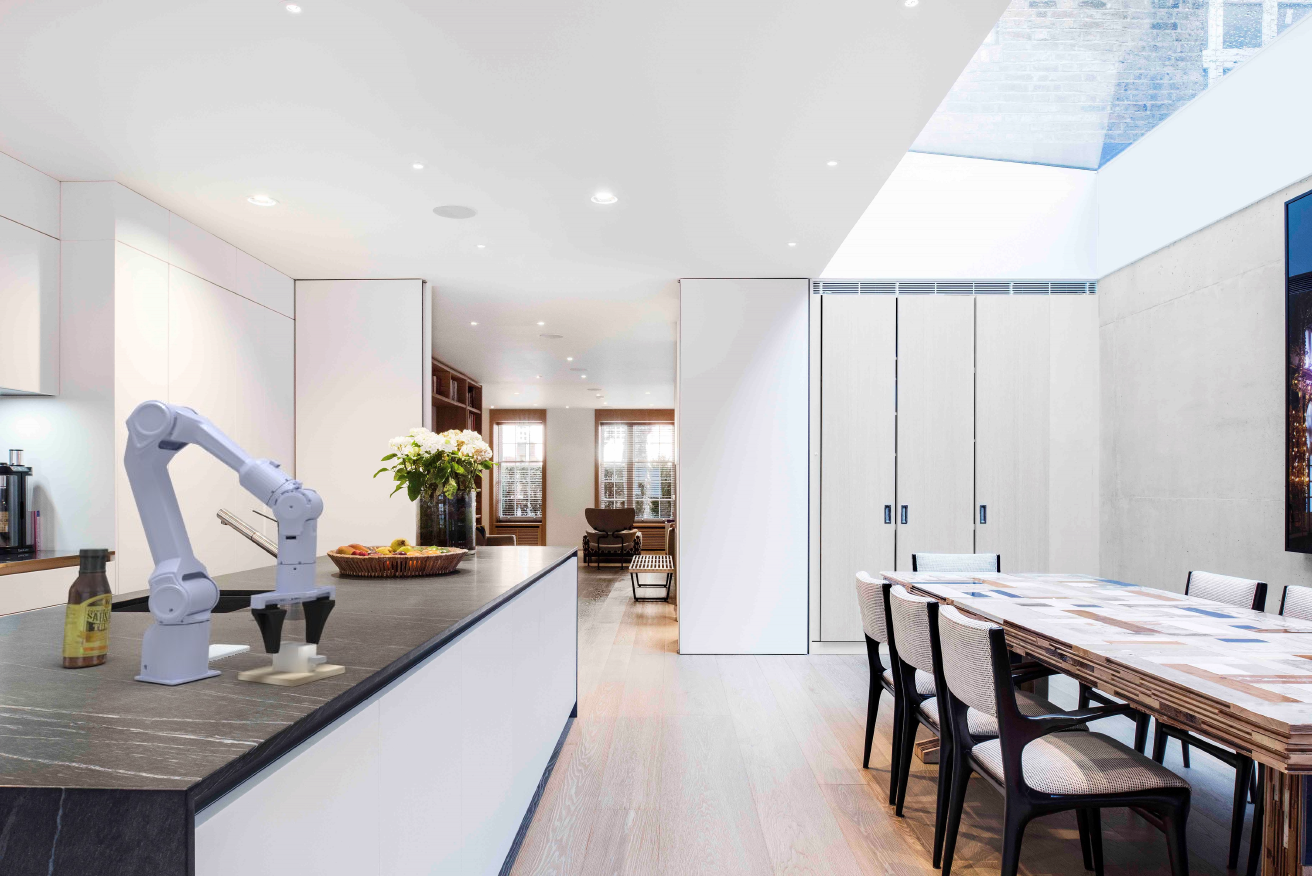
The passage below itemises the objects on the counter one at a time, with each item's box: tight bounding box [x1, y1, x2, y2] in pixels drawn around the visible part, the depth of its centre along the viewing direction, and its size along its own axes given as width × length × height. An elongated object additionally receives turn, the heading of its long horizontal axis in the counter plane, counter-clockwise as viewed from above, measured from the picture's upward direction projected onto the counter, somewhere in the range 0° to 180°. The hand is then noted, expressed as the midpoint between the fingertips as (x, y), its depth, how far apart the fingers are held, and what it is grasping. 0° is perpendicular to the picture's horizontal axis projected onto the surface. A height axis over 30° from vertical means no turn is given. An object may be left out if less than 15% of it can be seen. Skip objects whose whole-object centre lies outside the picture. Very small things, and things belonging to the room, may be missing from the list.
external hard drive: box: [209, 643, 251, 662], centre depth 133 cm, size 2×8×12 cm
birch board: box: [237, 663, 346, 688], centre depth 118 cm, size 12×10×1 cm
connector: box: [272, 640, 328, 673], centre depth 118 cm, size 10×3×4 cm, turn 66°
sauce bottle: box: [61, 547, 113, 668], centre depth 128 cm, size 6×6×20 cm
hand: (293, 648), depth 119 cm, fingers open, 7 cm apart
